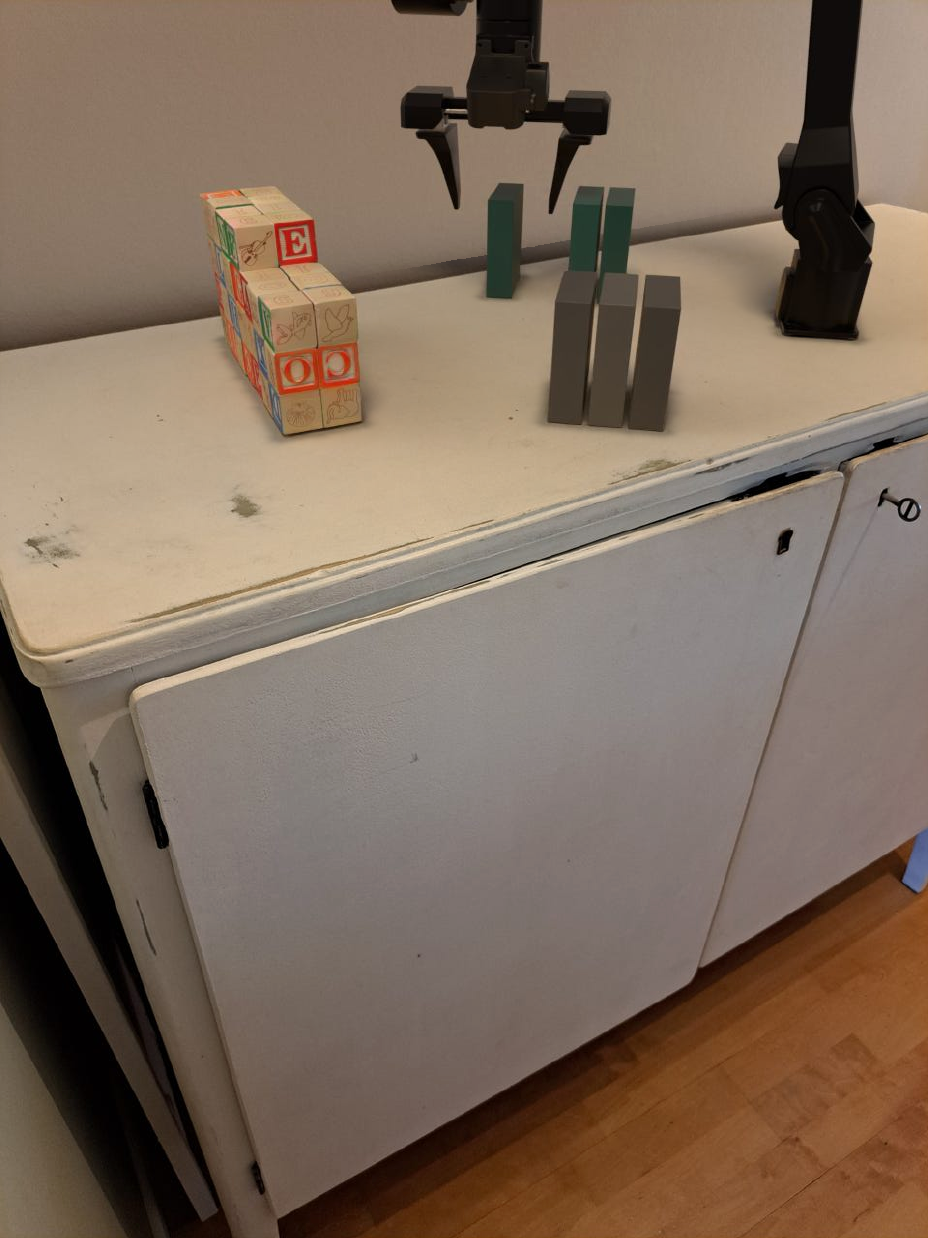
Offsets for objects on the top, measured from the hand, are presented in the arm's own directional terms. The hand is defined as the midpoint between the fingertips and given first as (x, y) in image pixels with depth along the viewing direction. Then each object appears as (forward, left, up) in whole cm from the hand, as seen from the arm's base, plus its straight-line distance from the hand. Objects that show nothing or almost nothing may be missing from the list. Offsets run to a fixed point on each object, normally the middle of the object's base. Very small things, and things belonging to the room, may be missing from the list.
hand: (503, 210), depth 88 cm
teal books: (-10, 0, -7) cm, 12 cm away
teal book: (0, 0, -7) cm, 7 cm away
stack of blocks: (+14, +26, -7) cm, 30 cm away
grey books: (-12, +27, -7) cm, 30 cm away
